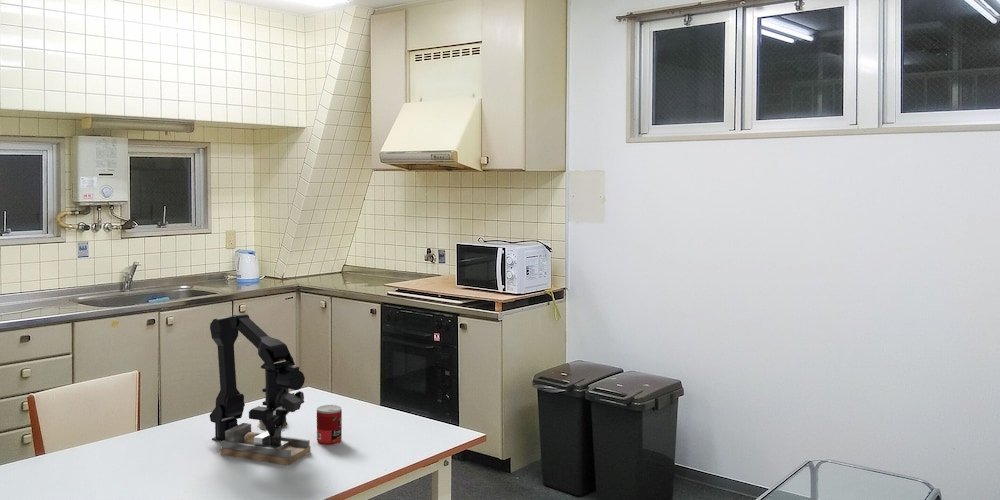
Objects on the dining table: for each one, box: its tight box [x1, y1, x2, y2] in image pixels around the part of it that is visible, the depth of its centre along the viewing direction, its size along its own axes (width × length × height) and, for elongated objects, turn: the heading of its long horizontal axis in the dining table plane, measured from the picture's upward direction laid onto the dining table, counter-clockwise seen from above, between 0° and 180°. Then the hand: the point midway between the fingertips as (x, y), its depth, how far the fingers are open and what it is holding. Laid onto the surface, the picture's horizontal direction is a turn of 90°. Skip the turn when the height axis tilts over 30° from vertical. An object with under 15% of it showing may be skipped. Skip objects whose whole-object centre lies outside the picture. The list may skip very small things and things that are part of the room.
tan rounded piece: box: [244, 431, 257, 445], centre depth 246 cm, size 4×4×4 cm
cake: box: [257, 417, 289, 431], centre depth 272 cm, size 10×10×5 cm
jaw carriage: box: [254, 424, 289, 449], centre depth 244 cm, size 7×8×7 cm
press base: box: [220, 422, 312, 466], centre depth 244 cm, size 24×12×7 cm, turn 71°
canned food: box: [316, 404, 343, 446], centre depth 256 cm, size 8×8×11 cm
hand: (275, 434), depth 243 cm, fingers closed on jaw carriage, 3 cm apart
